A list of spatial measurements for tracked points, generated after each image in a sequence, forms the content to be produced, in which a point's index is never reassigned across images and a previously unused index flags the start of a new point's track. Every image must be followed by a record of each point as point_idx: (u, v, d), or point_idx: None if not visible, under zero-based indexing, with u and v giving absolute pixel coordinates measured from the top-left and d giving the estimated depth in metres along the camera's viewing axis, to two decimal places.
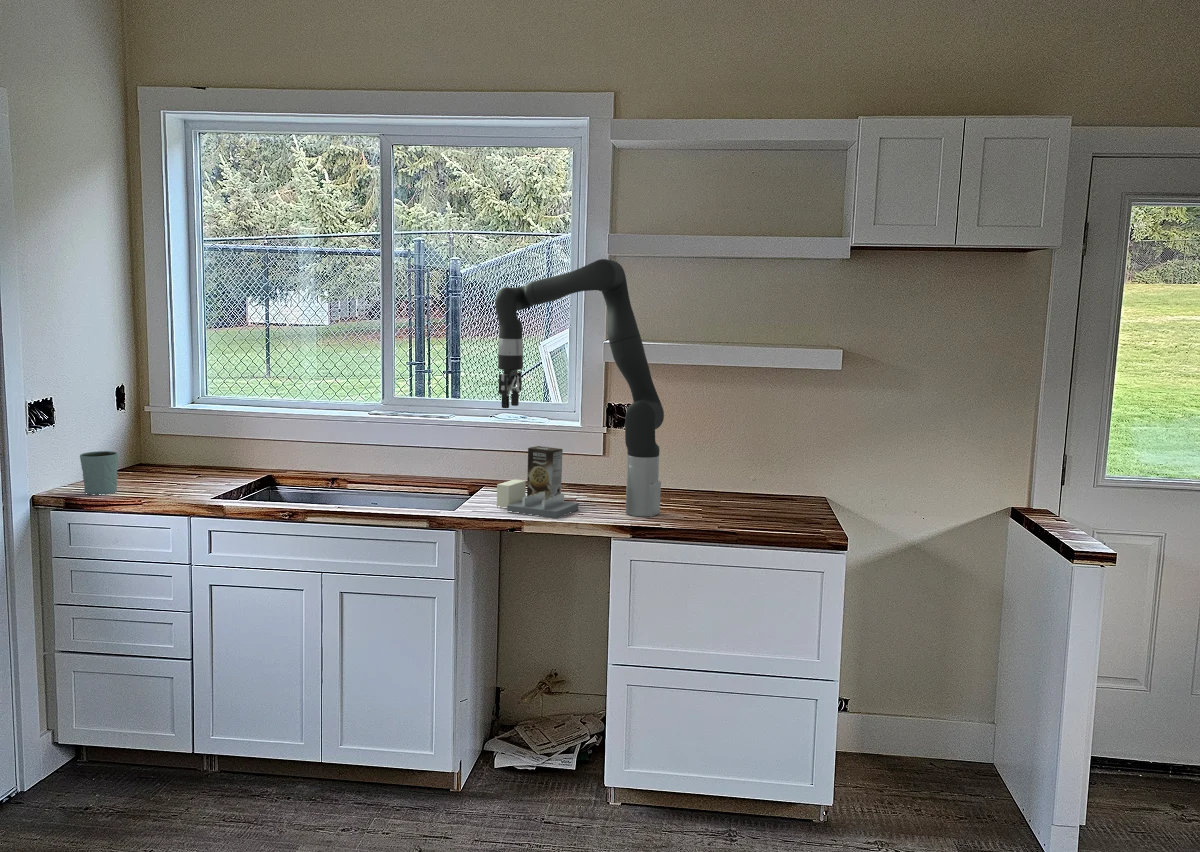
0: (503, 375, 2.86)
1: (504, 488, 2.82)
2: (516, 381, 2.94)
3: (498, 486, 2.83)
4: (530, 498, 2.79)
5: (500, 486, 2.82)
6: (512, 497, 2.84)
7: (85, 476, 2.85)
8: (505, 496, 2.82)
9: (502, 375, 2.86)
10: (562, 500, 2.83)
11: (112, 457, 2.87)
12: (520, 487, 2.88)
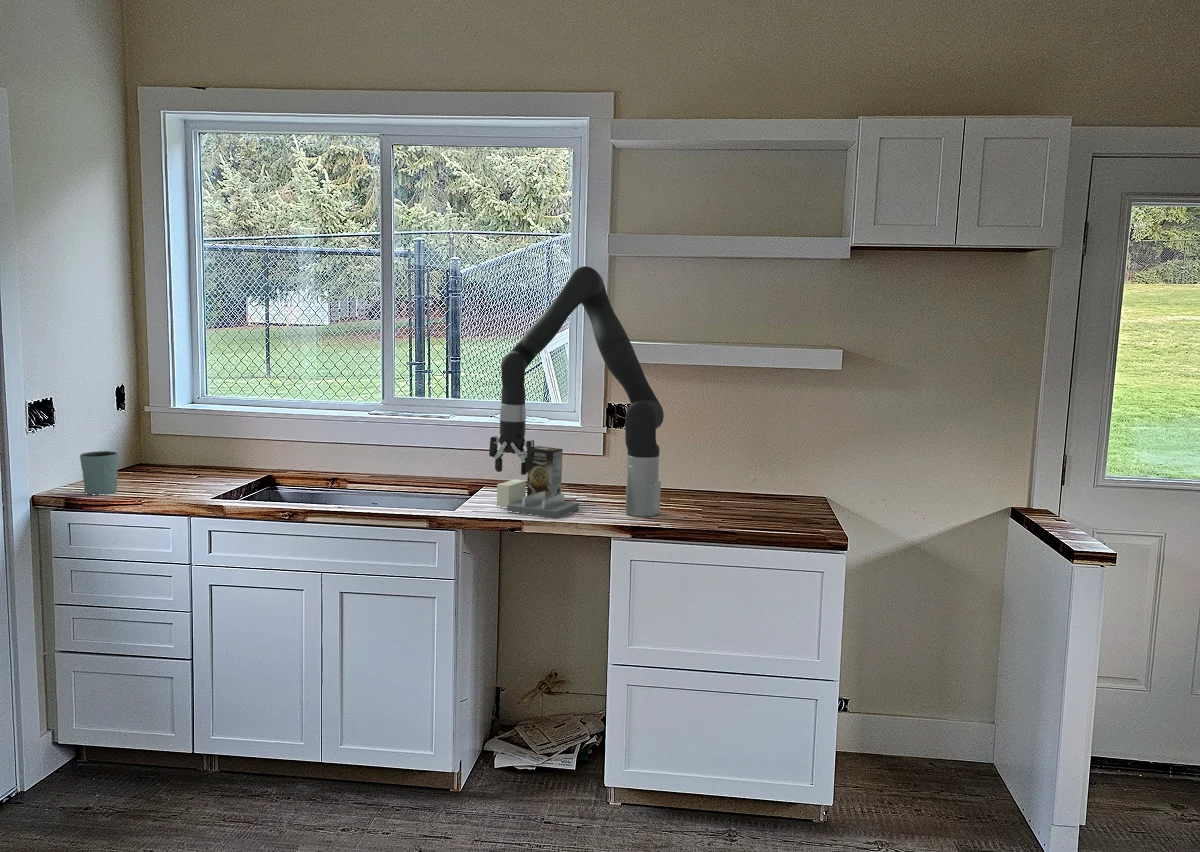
0: (532, 441, 2.83)
1: (504, 488, 2.82)
2: None
3: (498, 486, 2.83)
4: (530, 498, 2.79)
5: (500, 486, 2.82)
6: (512, 497, 2.84)
7: (85, 476, 2.85)
8: (505, 496, 2.82)
9: (531, 442, 2.82)
10: (562, 500, 2.83)
11: (112, 457, 2.87)
12: (521, 487, 2.88)
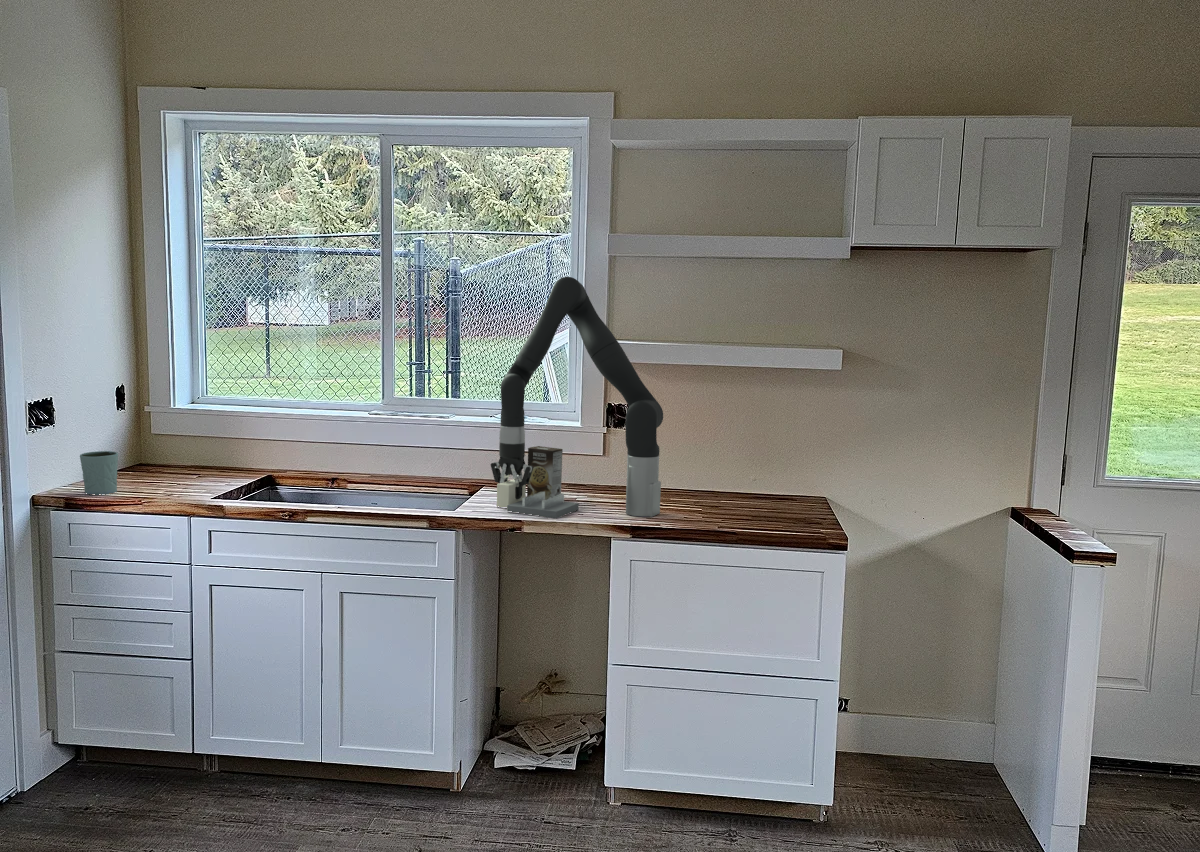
0: (531, 468, 2.83)
1: (504, 488, 2.82)
2: None
3: (498, 486, 2.83)
4: (530, 498, 2.79)
5: (500, 486, 2.82)
6: (512, 497, 2.84)
7: (85, 476, 2.85)
8: (505, 496, 2.82)
9: (530, 468, 2.83)
10: (562, 500, 2.83)
11: (112, 457, 2.87)
12: None
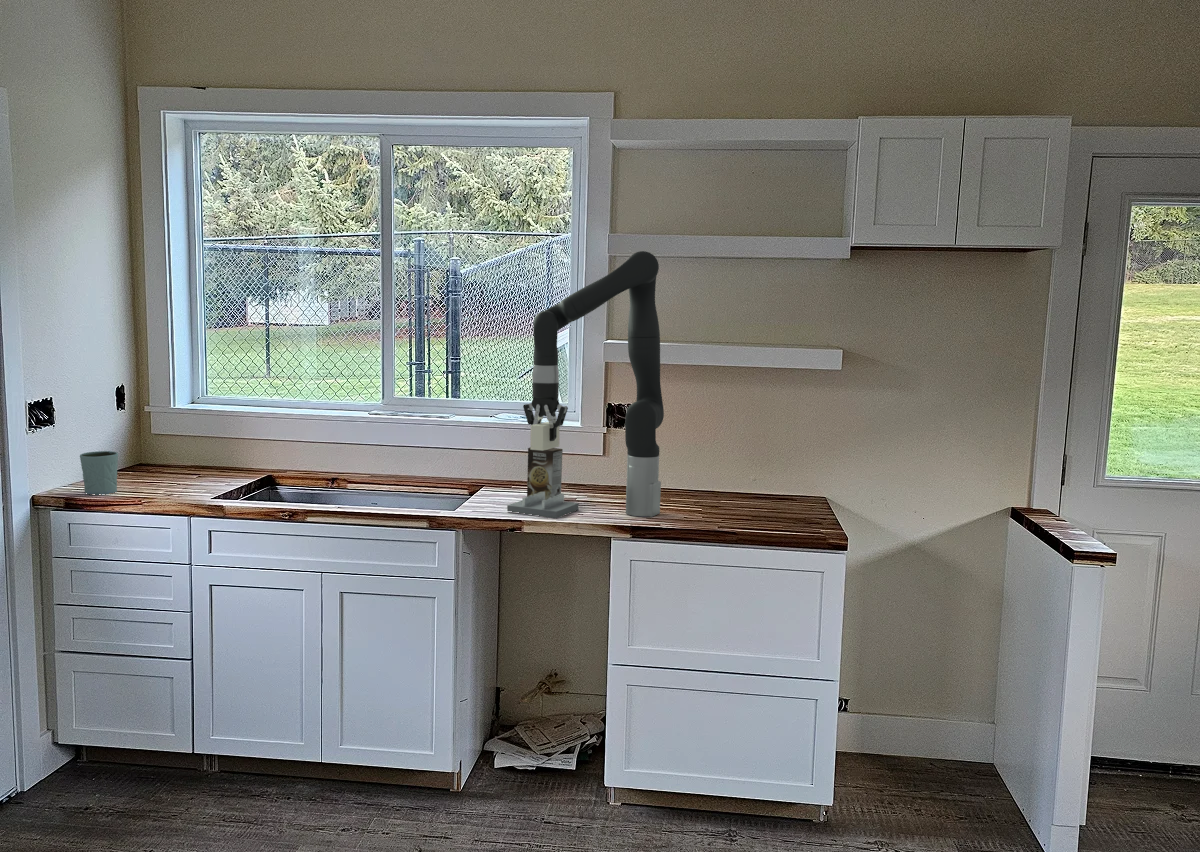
0: (566, 408, 2.74)
1: (538, 429, 2.73)
2: None
3: (532, 427, 2.74)
4: (530, 498, 2.79)
5: (534, 427, 2.73)
6: (546, 439, 2.75)
7: (85, 476, 2.85)
8: (539, 437, 2.73)
9: (565, 408, 2.74)
10: (562, 500, 2.83)
11: (112, 457, 2.87)
12: None
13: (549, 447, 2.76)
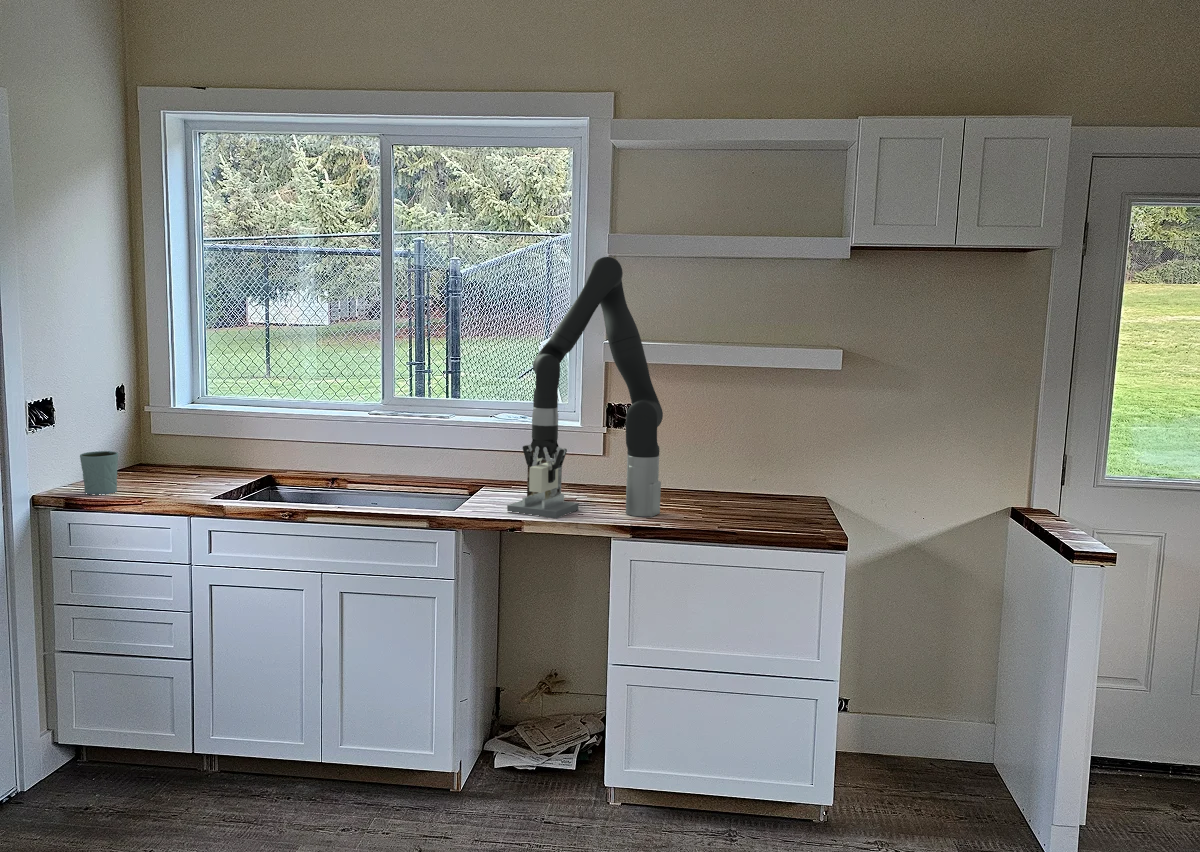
0: (565, 451, 2.76)
1: (537, 471, 2.74)
2: None
3: (531, 469, 2.75)
4: (530, 498, 2.79)
5: (533, 469, 2.75)
6: (545, 481, 2.76)
7: (85, 476, 2.85)
8: (538, 479, 2.74)
9: (564, 451, 2.75)
10: (562, 500, 2.83)
11: (112, 457, 2.87)
12: None
13: (548, 489, 2.78)
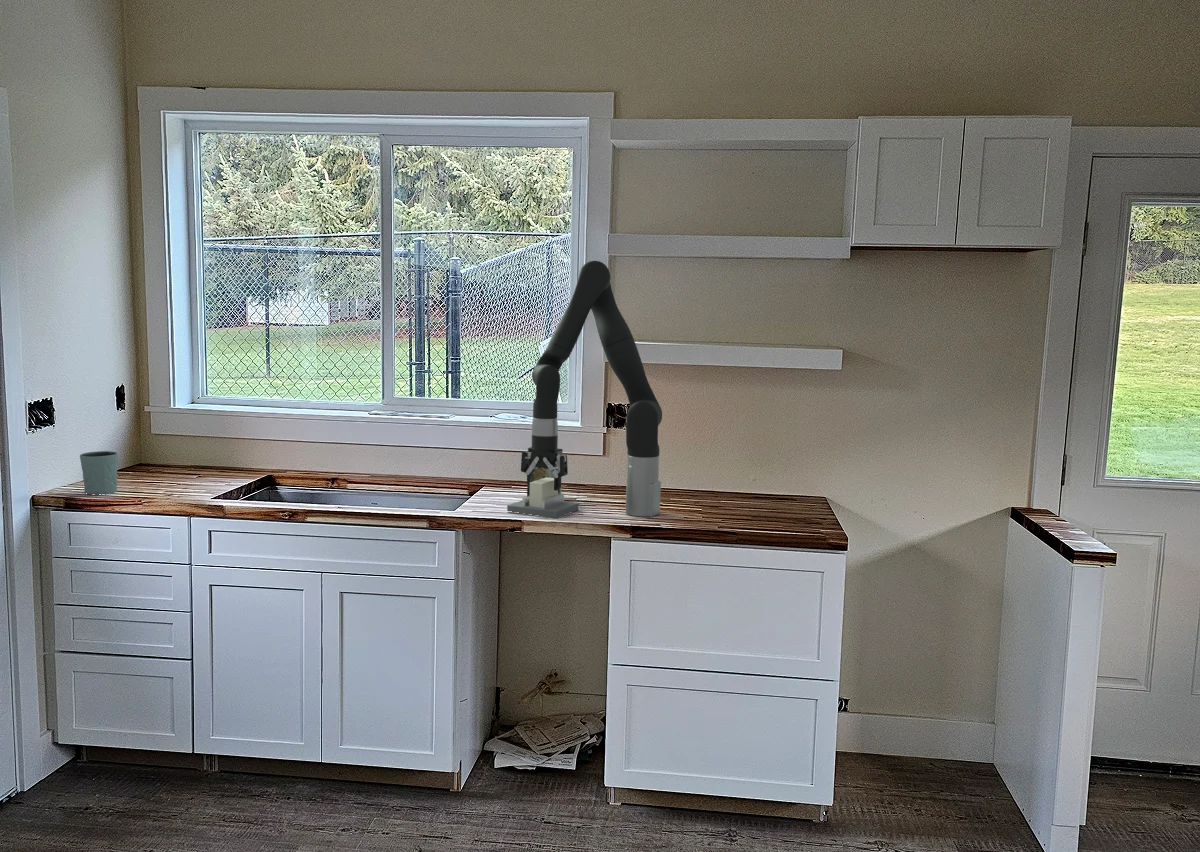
0: (565, 456, 2.76)
1: (537, 486, 2.75)
2: None
3: (531, 484, 2.76)
4: None
5: (533, 484, 2.75)
6: (545, 496, 2.77)
7: (85, 476, 2.85)
8: (539, 494, 2.75)
9: (564, 456, 2.76)
10: (562, 500, 2.83)
11: (112, 457, 2.87)
12: (553, 485, 2.81)
13: None
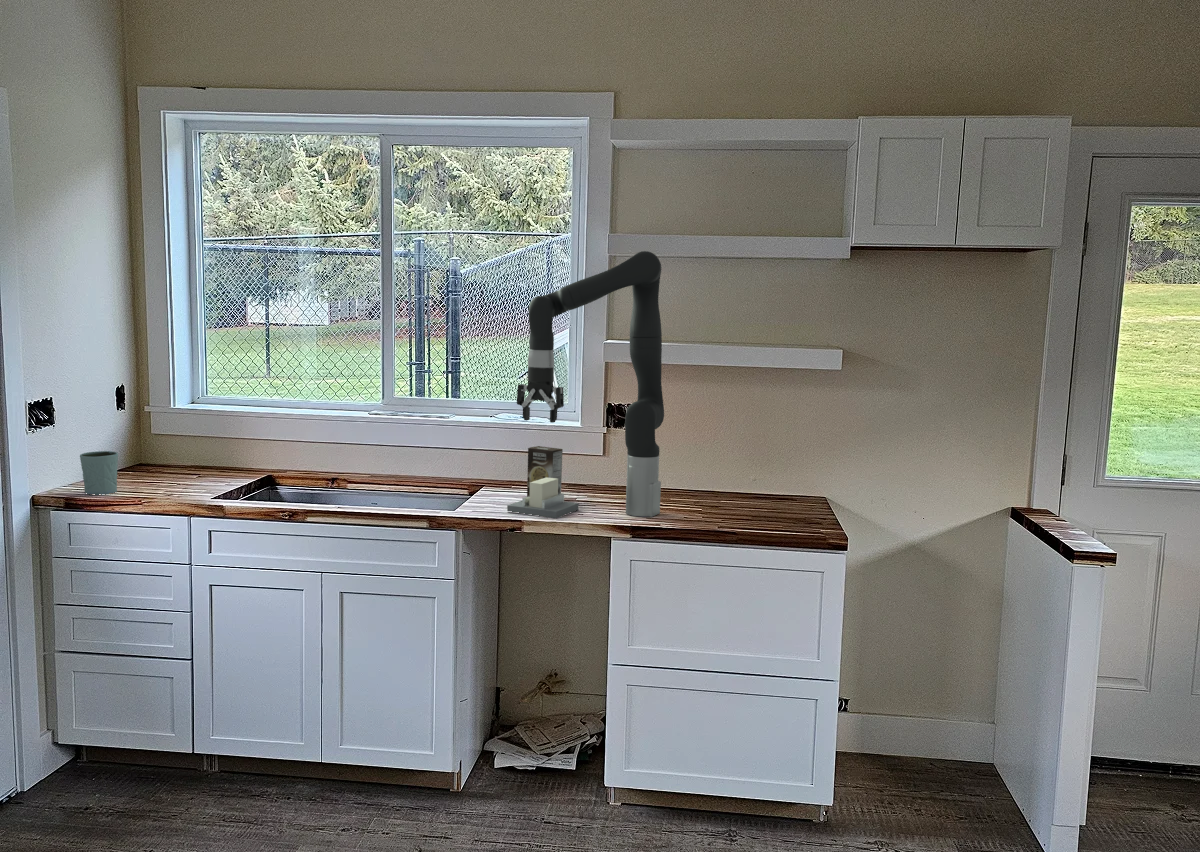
0: (561, 388, 2.76)
1: (537, 486, 2.75)
2: None
3: (531, 484, 2.76)
4: None
5: (533, 484, 2.75)
6: (545, 496, 2.77)
7: (85, 476, 2.85)
8: (539, 494, 2.75)
9: (560, 388, 2.76)
10: (562, 500, 2.83)
11: (112, 457, 2.87)
12: (553, 485, 2.81)
13: None
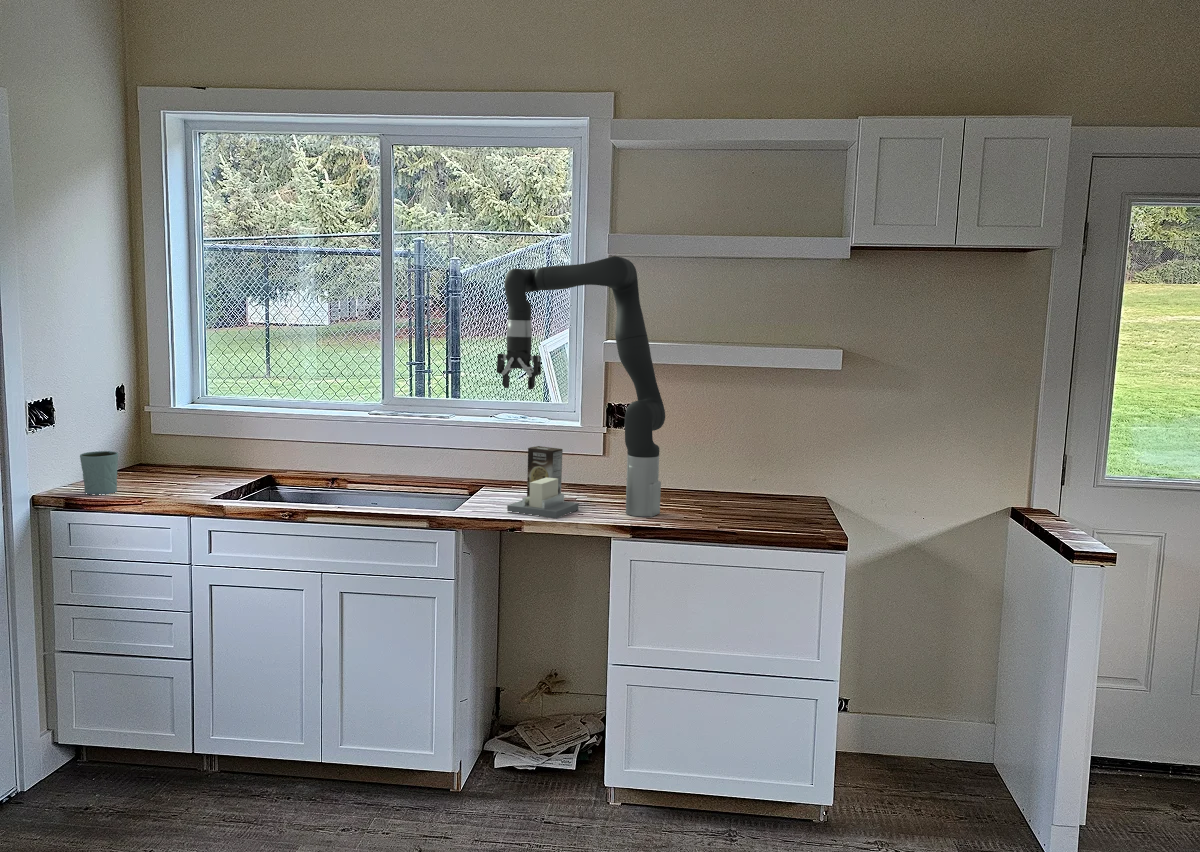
0: (538, 356, 2.90)
1: (537, 486, 2.75)
2: None
3: (531, 484, 2.76)
4: None
5: (533, 484, 2.75)
6: (545, 496, 2.77)
7: (85, 476, 2.85)
8: (539, 494, 2.75)
9: (538, 356, 2.90)
10: (562, 500, 2.83)
11: (112, 457, 2.87)
12: (553, 485, 2.81)
13: None
